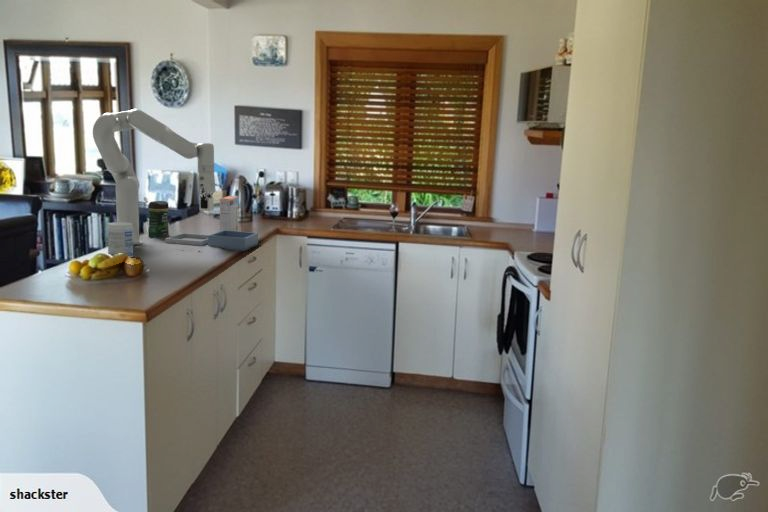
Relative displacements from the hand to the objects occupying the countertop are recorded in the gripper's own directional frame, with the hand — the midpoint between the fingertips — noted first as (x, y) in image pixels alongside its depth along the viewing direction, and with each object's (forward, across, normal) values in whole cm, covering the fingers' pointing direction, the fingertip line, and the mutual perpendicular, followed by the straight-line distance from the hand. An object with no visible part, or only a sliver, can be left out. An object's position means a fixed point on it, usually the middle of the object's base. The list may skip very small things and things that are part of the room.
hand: (206, 207), depth 292 cm
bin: (+18, 0, -13) cm, 23 cm away
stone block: (+1, 0, 0) cm, 1 cm away
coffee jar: (+18, +6, +28) cm, 34 cm away
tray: (+18, -1, +8) cm, 20 cm away
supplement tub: (+18, -46, +18) cm, 52 cm away
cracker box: (+19, +24, -2) cm, 31 cm away
